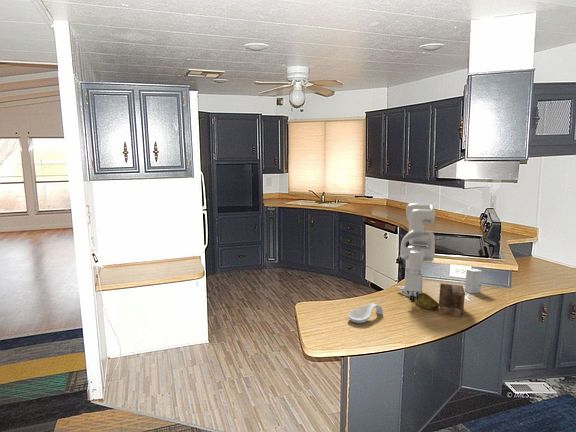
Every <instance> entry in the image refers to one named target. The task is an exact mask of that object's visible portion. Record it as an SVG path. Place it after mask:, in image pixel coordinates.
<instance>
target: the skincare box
mask: <svg viewBox="0 0 576 432" xmlns="http://www.w3.org/2000/svg"><path fill="white" fill-rule="evenodd" d="M482 275H483V270H480V269H478V268H467V269H466V274H465V282H464V283H465V285H464V292H465V293H466V292H467V293H469V294H476V293H477V294H478V293H481V288H482V287H481V286H482V277H483V276H482Z"/></svg>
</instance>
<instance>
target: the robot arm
mask: <svg viewBox="0 0 576 432" xmlns="http://www.w3.org/2000/svg"><path fill="white" fill-rule="evenodd" d="M405 215H406V219H407V223H408V232H407V233H406V234H405V235H404V236H403V237H402V239H401V242H400V249H399V251H400V258H401V259H403V260H405V269H404V274H405V275H404V283H403V285H402V286H400V285H397V286H396V290H398V291H401V295H403V296H405V297H409V301H410V303H414V302H415V301H416V296H417V294H420V293H423V282H424V281H423V280H424V279H423V274H422V265H423V262H424V263H432V262H434V259H435V249H436V247H435V246H436V245H435V244H436V243H435V241H436V239H435V234H434V232H433V231H427V230H426V231H425V230H424V229H425V224H433V223H434V222H435V218H436V211H435V206H434V205H433V204H431V203H416V202H415V203H414V202H413V203H408V204H407V205H406V206H405ZM407 242H408V243H409V244H410V245H408V246H406V244H407Z"/></svg>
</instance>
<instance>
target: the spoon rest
mask: <svg viewBox="0 0 576 432" xmlns="http://www.w3.org/2000/svg"><path fill="white" fill-rule="evenodd" d="M374 308H375V313H376V314H377V315H380V316H382V315H384V311H383V308H382V306H381V305H379V304H377V303H373V302H372V303H371V302H370V303H367V304H366V305H364V306H361V307H358V308H355V309H353V310H351V311H349V312H348V313H347V318H348V319H349V320H350V321H351V322H353V323H355V324H364V323H366V322H367V321H368V320H369V319H370V317H371V316H372V312H373V309H374Z"/></svg>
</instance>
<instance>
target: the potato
mask: <svg viewBox="0 0 576 432" xmlns="http://www.w3.org/2000/svg"><path fill="white" fill-rule="evenodd" d="M415 300H416V301H417V302H418V304H420V305H421V306H422V307H423V308H424V309H426V310H432V311H433V310H434V311H436V310H437V309H440V306H439V301H437V300H435V299H434V298H433V297H432V296H430V295H429V294H427V293H426V292H422V293H420V294H417V296H416V297H415Z"/></svg>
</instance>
